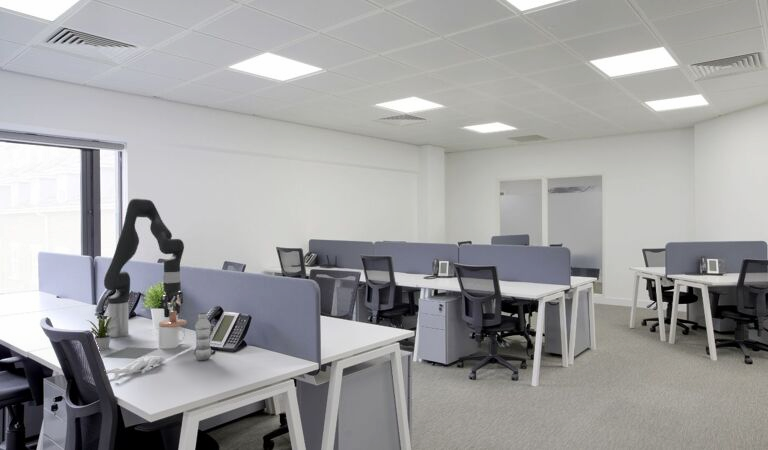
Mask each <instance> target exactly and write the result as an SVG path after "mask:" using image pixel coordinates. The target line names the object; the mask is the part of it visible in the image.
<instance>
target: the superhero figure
mask: <svg viewBox="0 0 768 450" xmlns="http://www.w3.org/2000/svg"><path fill="white" fill-rule="evenodd" d="M164 359H165V358H164V356H162V355H161V356H159V355H158V356H157V355H148V356H143V357H142V356H141V357H139V358H137V359H135V360H134V361H133V362H131V363H129V364H127V365H125V366H124V367H121V368H119V367H113V368H111V369H107V370H106V371H107V374H106V375H108V374H114V381H116V382H117V381H118V380H119V375H120V374H127V375H131V374H135V373H136V372H138V371H140V370H141V371H140V374H141V375H143V374H145V373H146V371H147V370H148V369H149V368H151V367H152V366H153V367H154V366H156V365H157V364H162V363H163V362H164Z"/></svg>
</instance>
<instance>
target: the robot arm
mask: <svg viewBox="0 0 768 450" xmlns="http://www.w3.org/2000/svg"><path fill="white" fill-rule="evenodd" d="M138 218H147V219H149V220H150V225H149V228H150V232H151V234H152V236H154V238H155V240H156V242H157V244H158V248H159V251H160V253H163V254H164V255H171V257H170V258H166V259H165V260H164V261H163V276H162V277H163V287H162V288H163V292H164V293H165V294H164V295H163V294H162V295H161V296H160V309H163V315H164V318H169V316H170V311H171V310H170V308H171V306H172V305H173V304H174V311H177V315H178V314H180V313H181V305H182V304H183V303H184V298H183V296H184V294H183V291H181V288H182V287H181V285H182V283H181V282H182V276H181V260H182V256H183V255H184V254H183V253H184V250H185V244H184V242H183V240H182V239H181V238H172V237H173V235H172V232H171V231H170V229H169V228H168V227H167V225H165V223H164V221H163V220H162V218H161V215H160V214H159V211H158V209H157V207H156V205H155V204H154V202H153V200H151V199H146V198H132V199H130V201H129V203H128V205H127V208H126V212H125V217H124V221H123V226H122V229H121V233H120V235H119V238H118V240H117V245H116V248H115V251H114V254H113V257H112V260H111V262H110V265H109V267H108V269H107V271H106V274H105V276H104V279H103V285H104V288H105V289H106V290H107V291H115V290H116V292H115V293H114V294H113V295H110V296H109V297H108V298H107V304H108V306H107V311H108V312H107V314H108V315H107V317H106V320H105V323H106V322H107V321H108V320H109V318H110V317H112V316H113V317H112V318H111V320H112V321H111V323H112V322H113V323H112V324H111V323H110V322H109V323H110V324H109V325H108V327H107V328H108V329H109V328H111V329H109V330H110V331H107V332H108V334H107V333H106V335H111V338H119V337H121V338H122V337H126V336H128V335H129V298H130V294H131V277H130V274H129V272H127V271H125V270H124V271H122V269H123V268H124V266H125V265H126V264H127V263H128V262H129V261H131V259H132V258H133V257H134V256H135V255H136V253H137V250H138V246H139V245H140V244H139V243H140V238H139V235H138V232H137V230H136V221H137V219H138ZM116 317H118V318H116ZM114 318H115V319H114ZM113 319H114V320H113ZM114 321H115V322H114ZM109 326H110V327H109ZM116 326H117V327H116ZM112 327H113V328H114V327H115V328H114V329H113V328H112ZM116 328H117V329H116Z"/></svg>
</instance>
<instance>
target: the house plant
mask: <svg viewBox="0 0 768 450" xmlns="http://www.w3.org/2000/svg"><path fill="white" fill-rule="evenodd" d="M101 317H102V318H101ZM112 317H113V316H112ZM112 317H110V318H109V320H108V321H107V322H106V320H105V317H104V316H103V315H101V316H100V315H99V316H98V327H97V326H96V324H94V323H93V322H92V321H90V320H88V319H86V321H87V322H89V323H90V324H91V325H92V326H93V327H94V328H93V327H91V330H90V331H91V332H90V333H92V334H94V337H95V340H96V342H97V345H98V347H99V350H98V351H102V350H107V349H109V347H110V343H111V338H112V337H111V335H106V333H107V334H108V332H107V331H110V330H109V329H111V328H109V329H108V328H107V327H108V325H109V324H110V323H111V321H112V320H111V318H112ZM116 318H118V317H116ZM114 319H115V318H114ZM114 319H113V320H114ZM109 322H110V323H109ZM114 322H115V321H114ZM112 323H113V322H112ZM112 323H111V324H112ZM109 327H110V326H109ZM116 327H117V326H116ZM112 328H113V327H112ZM114 328H115V327H114ZM114 328H113V329H114ZM116 329H117V328H116Z"/></svg>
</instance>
